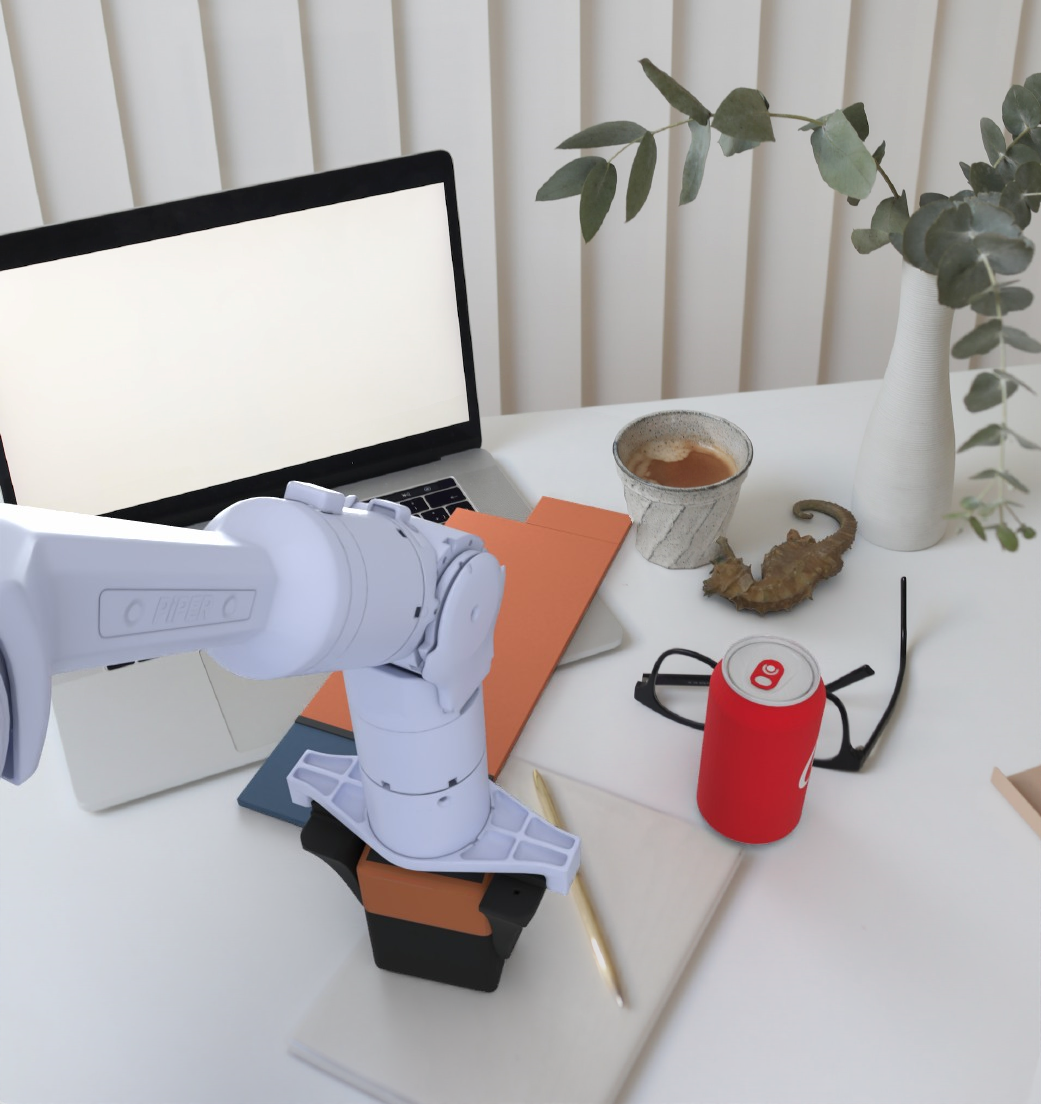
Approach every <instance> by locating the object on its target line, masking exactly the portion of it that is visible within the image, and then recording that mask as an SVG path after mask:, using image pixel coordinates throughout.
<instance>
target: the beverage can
mask: <svg viewBox="0 0 1041 1104" xmlns="http://www.w3.org/2000/svg"><path fill="white" fill-rule="evenodd" d="M821 673H822V672H821V667H820V665H819V662H818V661H817V659H816V657H815V655H814V654H812V652H811V651H810V650H809V649H807V648H806V647H805V646H804V645H802V644H800V643H799V642H796V641H794V640H793V639H790V638H787V637H784V636H781V635H776V634H775V635H774V634H754V635H749V636H745V637H743V638H740V639H738V640H736V641H735V642H733V643H732V644H731V645H729V647H727V649H726V650H725V652H724V654H723V656H722V658H721V659H720V660H719V661H718V662H717V664H716V665H715V666H714V668H713V671H712V673H711V675H710V679H709V686H708V694H707V695H708V696H707V701H706V711H705V720H704V728H703V737H702V746H701V753H700V762H699V769H698V770H699V771H698V779H697V787H696V804H697V808H698V810H699V812H700V814H701V816H702V818H703V819H704V821H705V822H706V823H707V824H708V825H709V826H710V828H712V829H713V830H714V831H715V832H717V833H718V834H720V835H721V836H723V837H725V838H727V839H729V840H731V841H734V842H737V843H741V844H745V845H746V844H747V845H767V844H771V843H775V842H778V841H780V840H782V839H784V838H785V837H787V836H788V835H790V834H791V833H792V832H793V831H794V830H795V829H796V827H797V826H798V824H799V822H800V820H801V818H802V815H803V814H802V813H803V808H804V803H805V800H806V795H807V791H808V786H809V781H810V778H811V777H810V776H811V773H812V768H813V763H814V758H815V754H816V750H817V744H818V740H819V735H820V730H821V727H822V722H823V717H824V712H825V707H826V703H827V691H826V685H825V682H824V680H823V677H822V676H821Z"/></svg>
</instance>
